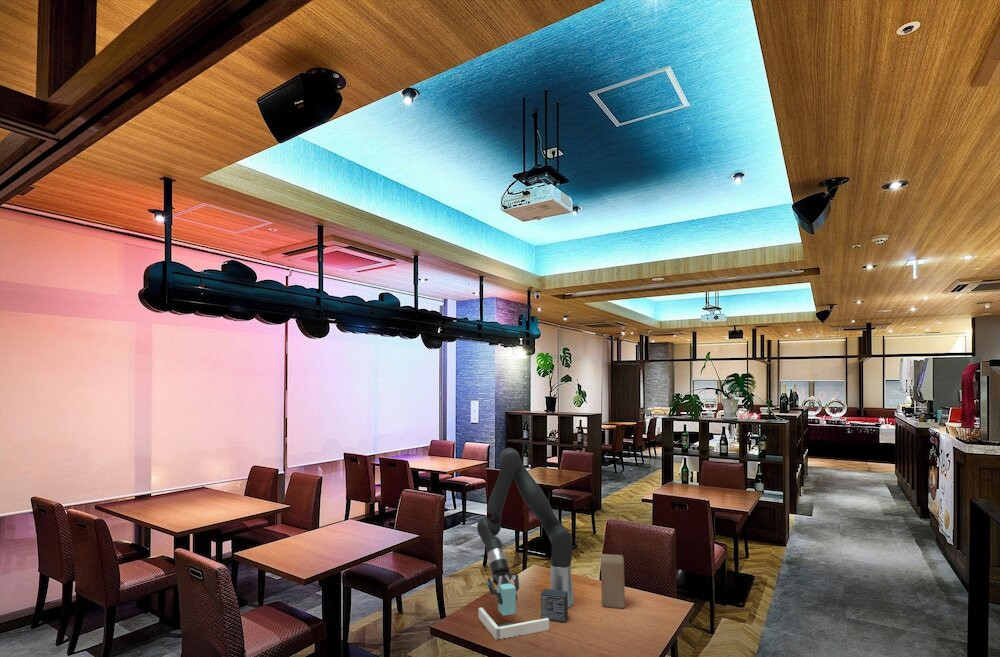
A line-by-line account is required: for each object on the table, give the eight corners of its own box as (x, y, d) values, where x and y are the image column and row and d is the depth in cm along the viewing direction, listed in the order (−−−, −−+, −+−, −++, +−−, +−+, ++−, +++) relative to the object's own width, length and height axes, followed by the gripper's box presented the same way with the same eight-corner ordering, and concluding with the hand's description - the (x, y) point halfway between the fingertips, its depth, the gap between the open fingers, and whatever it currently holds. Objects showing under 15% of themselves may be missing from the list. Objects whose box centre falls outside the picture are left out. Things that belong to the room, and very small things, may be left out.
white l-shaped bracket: (527, 609, 232) (527, 599, 232) (549, 630, 212) (549, 619, 213) (478, 617, 223) (478, 608, 224) (496, 640, 204) (496, 629, 204)
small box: (568, 616, 224) (568, 590, 225) (565, 623, 218) (565, 596, 219) (544, 613, 228) (544, 587, 229) (540, 619, 222) (540, 593, 223)
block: (625, 609, 231) (623, 561, 233) (601, 607, 233) (600, 560, 235) (624, 600, 241) (623, 554, 243) (602, 598, 243) (601, 553, 245)
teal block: (510, 608, 218) (510, 582, 219) (515, 613, 213) (515, 587, 214) (497, 610, 216) (498, 584, 217) (503, 615, 211) (503, 589, 212)
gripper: (484, 559, 221) (494, 601, 209) (515, 555, 226) (527, 595, 214) (479, 568, 225) (489, 609, 213) (511, 564, 230) (522, 604, 218)
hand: (508, 602), depth 213 cm, fingers closed on teal block, 5 cm apart
